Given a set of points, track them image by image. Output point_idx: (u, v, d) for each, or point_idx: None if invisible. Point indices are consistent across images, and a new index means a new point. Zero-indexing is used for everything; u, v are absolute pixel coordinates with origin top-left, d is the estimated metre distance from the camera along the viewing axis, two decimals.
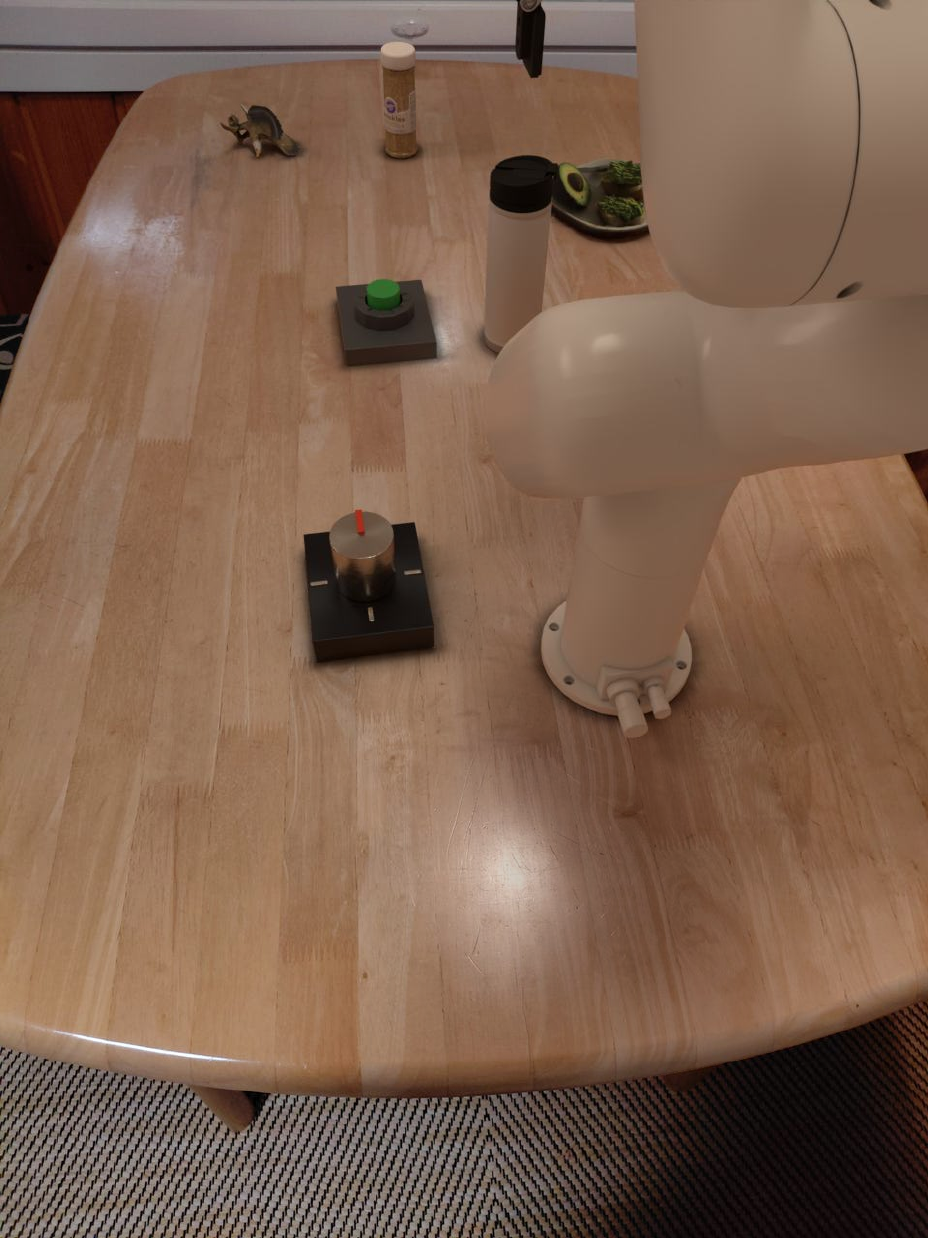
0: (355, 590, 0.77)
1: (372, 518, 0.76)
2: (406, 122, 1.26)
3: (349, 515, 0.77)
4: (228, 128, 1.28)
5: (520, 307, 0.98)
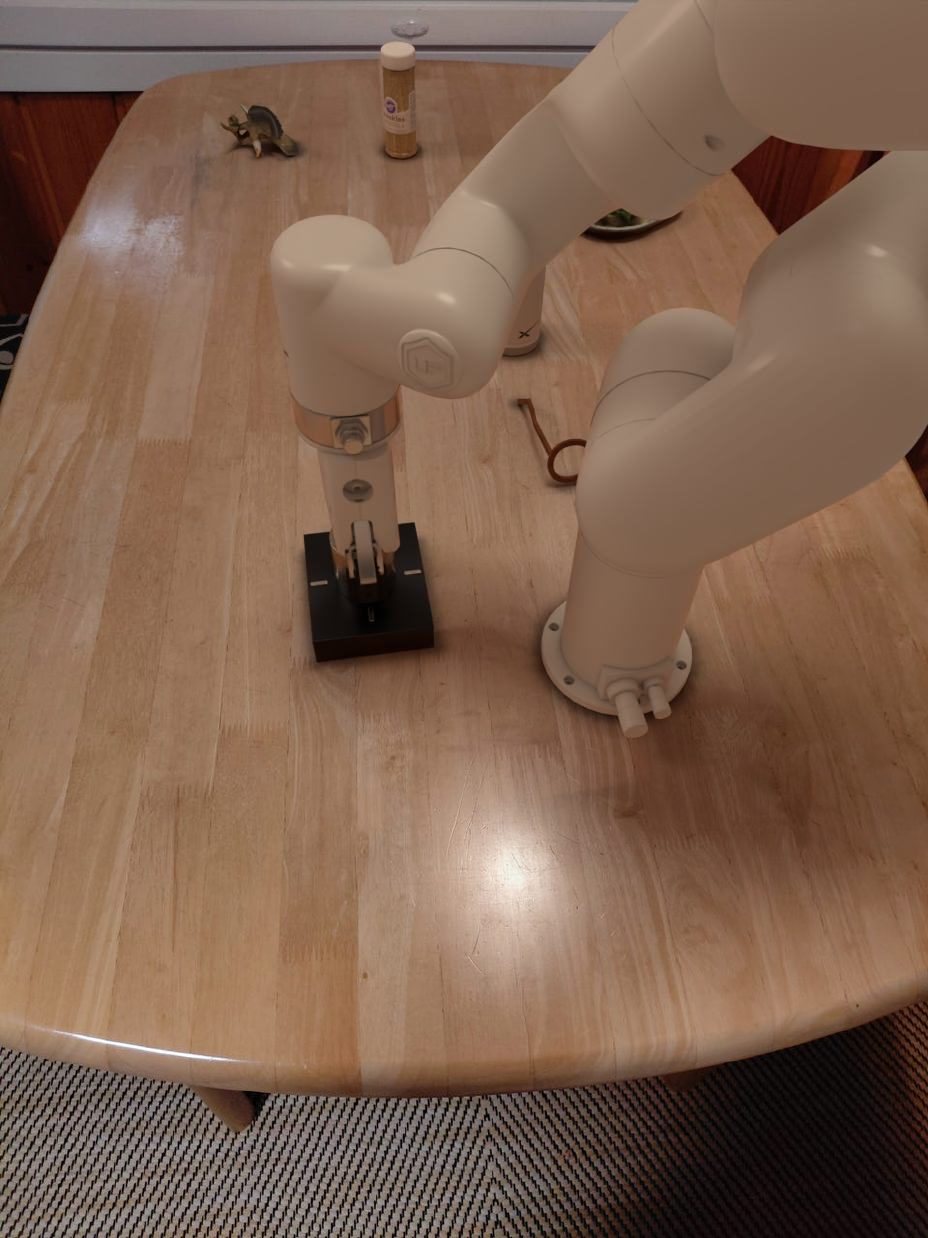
0: None
1: None
2: (405, 122, 1.26)
3: None
4: (228, 128, 1.28)
5: (520, 307, 0.98)
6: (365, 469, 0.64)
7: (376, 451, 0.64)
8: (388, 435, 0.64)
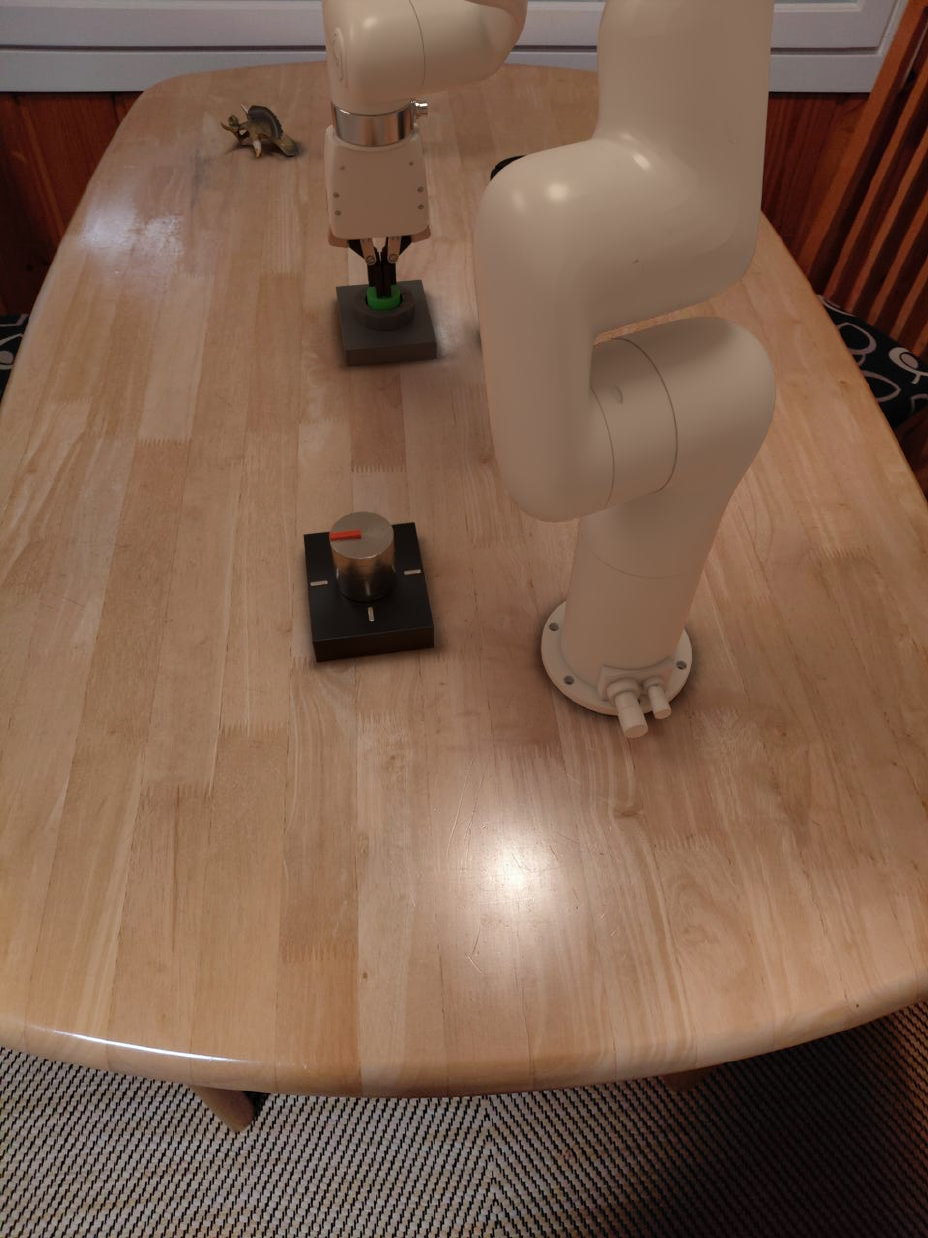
0: (394, 573, 0.78)
1: (340, 527, 0.76)
2: None
3: (334, 545, 0.75)
4: (228, 128, 1.28)
5: None
6: None
7: None
8: None
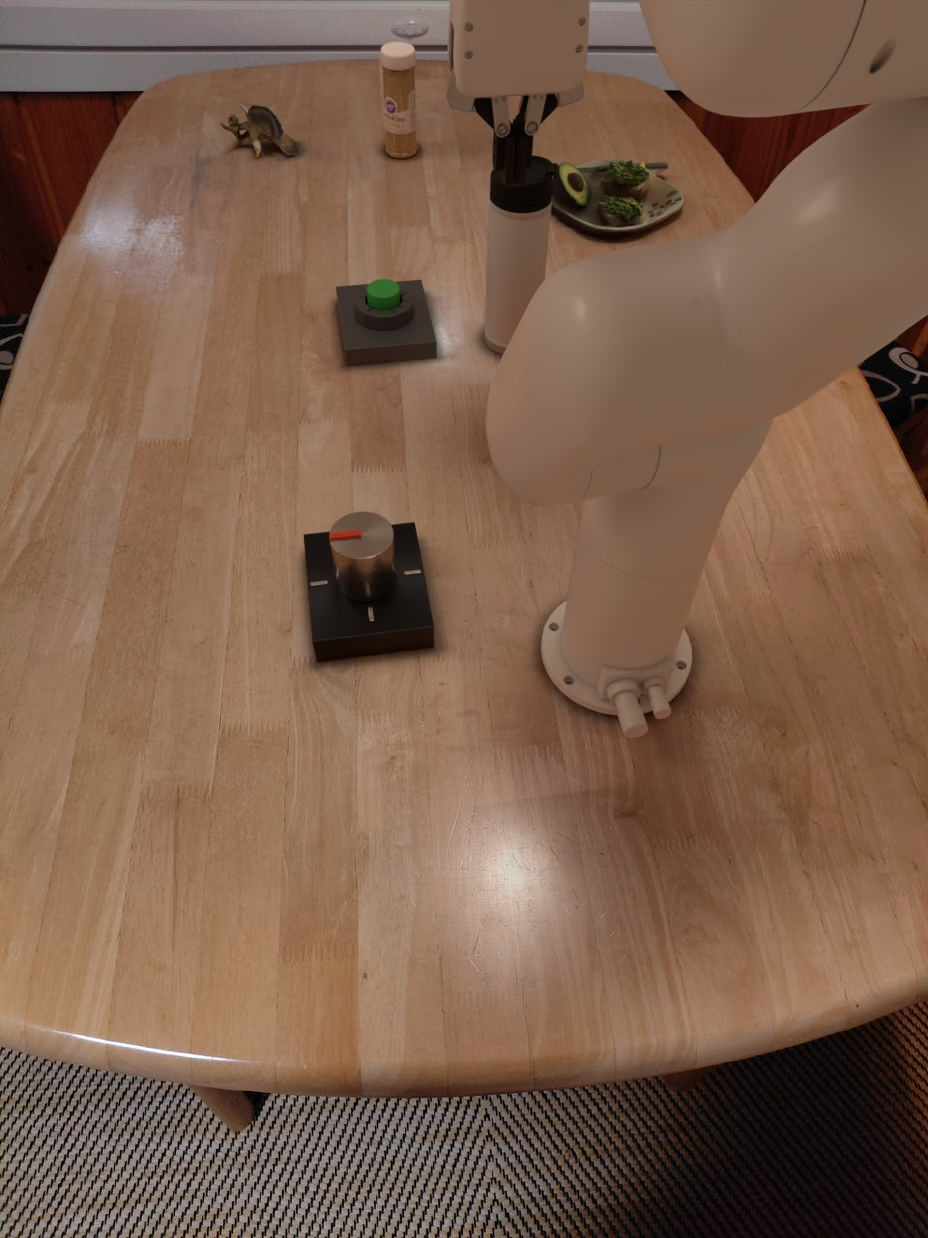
0: (394, 573, 0.78)
1: (340, 527, 0.76)
2: (406, 122, 1.26)
3: (334, 545, 0.75)
4: (228, 128, 1.28)
5: (520, 307, 0.98)
6: None
7: None
8: None
